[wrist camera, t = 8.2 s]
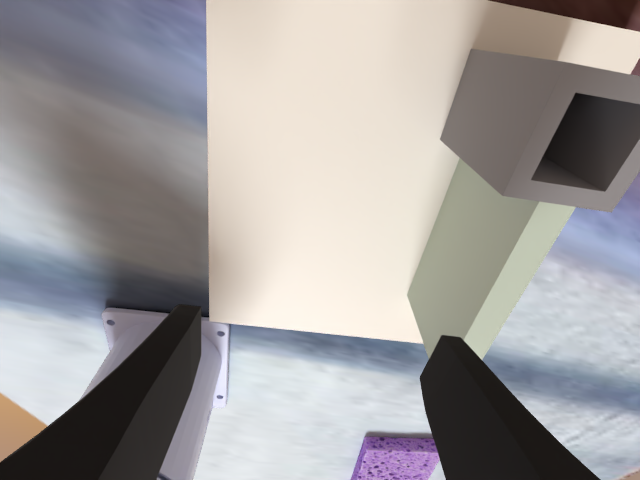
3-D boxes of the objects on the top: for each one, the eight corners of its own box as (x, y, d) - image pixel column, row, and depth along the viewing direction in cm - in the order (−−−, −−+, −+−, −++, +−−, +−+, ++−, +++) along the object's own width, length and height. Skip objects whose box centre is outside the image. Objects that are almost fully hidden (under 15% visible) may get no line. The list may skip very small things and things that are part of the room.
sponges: (343, 493, 38) (344, 513, 36) (363, 429, 31) (366, 451, 30) (405, 495, 38) (409, 515, 37) (438, 433, 32) (445, 454, 30)
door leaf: (445, 299, 20) (489, 390, 15) (386, 292, 20) (412, 383, 15) (555, 64, 14) (696, 87, 9) (471, 48, 13) (566, 62, 8)
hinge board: (463, 331, 24) (495, 397, 20) (215, 304, 22) (192, 369, 18) (623, 34, 15) (750, 36, 10) (216, -51, 13) (168, -88, 9)
